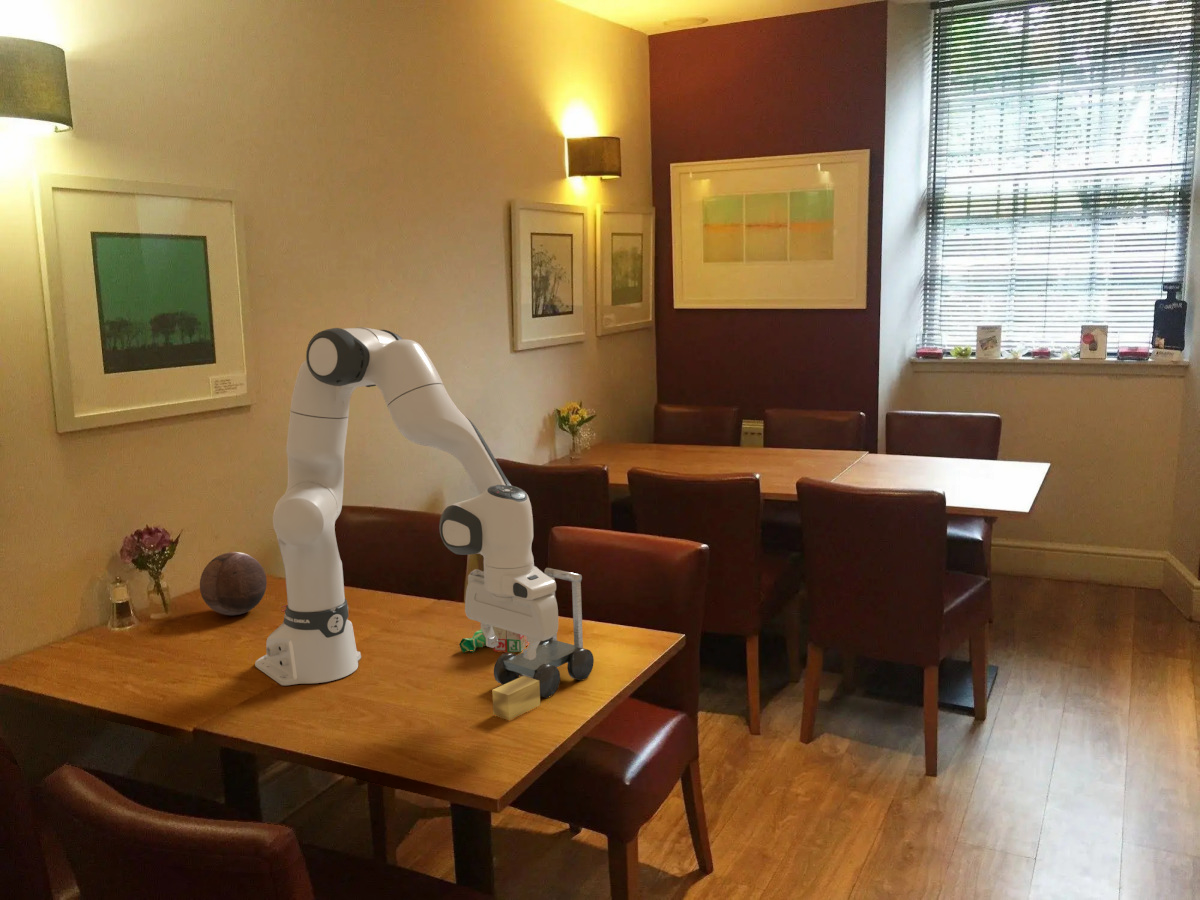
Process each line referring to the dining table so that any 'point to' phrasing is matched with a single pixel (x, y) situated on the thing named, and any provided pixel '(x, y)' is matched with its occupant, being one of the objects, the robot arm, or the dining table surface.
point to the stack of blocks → (509, 641)
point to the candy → (473, 641)
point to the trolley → (551, 650)
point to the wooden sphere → (233, 583)
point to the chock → (516, 697)
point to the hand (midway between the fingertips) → (510, 652)
